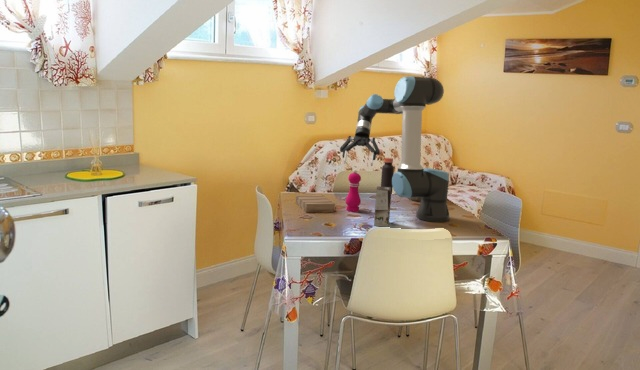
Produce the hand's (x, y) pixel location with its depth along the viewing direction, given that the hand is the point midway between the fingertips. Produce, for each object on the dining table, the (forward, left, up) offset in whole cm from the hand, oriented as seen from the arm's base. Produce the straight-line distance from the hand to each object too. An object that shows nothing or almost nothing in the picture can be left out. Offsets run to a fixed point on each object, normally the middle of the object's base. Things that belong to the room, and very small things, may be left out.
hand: (357, 163), depth 262 cm
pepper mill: (-10, +5, -22) cm, 25 cm away
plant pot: (+11, -42, -22) cm, 48 cm away
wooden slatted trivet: (-2, +22, -22) cm, 31 cm away
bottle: (+31, -31, -22) cm, 49 cm away
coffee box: (-36, +1, -22) cm, 42 cm away
